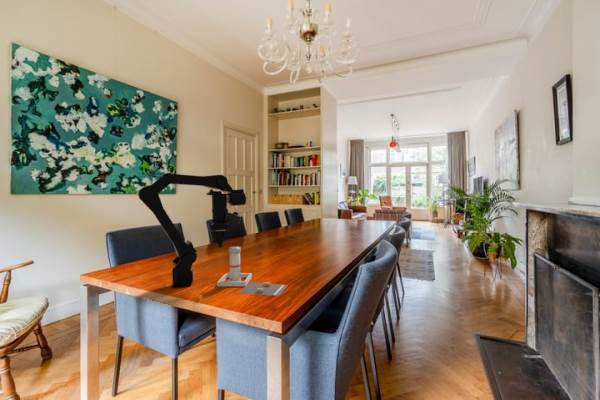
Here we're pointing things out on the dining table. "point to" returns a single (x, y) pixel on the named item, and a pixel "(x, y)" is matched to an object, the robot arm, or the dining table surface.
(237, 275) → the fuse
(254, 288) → the panel
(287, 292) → the dining table surface
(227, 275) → the parts tray
